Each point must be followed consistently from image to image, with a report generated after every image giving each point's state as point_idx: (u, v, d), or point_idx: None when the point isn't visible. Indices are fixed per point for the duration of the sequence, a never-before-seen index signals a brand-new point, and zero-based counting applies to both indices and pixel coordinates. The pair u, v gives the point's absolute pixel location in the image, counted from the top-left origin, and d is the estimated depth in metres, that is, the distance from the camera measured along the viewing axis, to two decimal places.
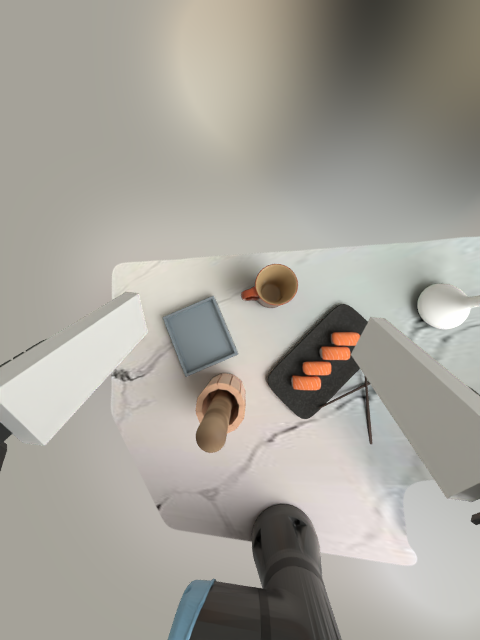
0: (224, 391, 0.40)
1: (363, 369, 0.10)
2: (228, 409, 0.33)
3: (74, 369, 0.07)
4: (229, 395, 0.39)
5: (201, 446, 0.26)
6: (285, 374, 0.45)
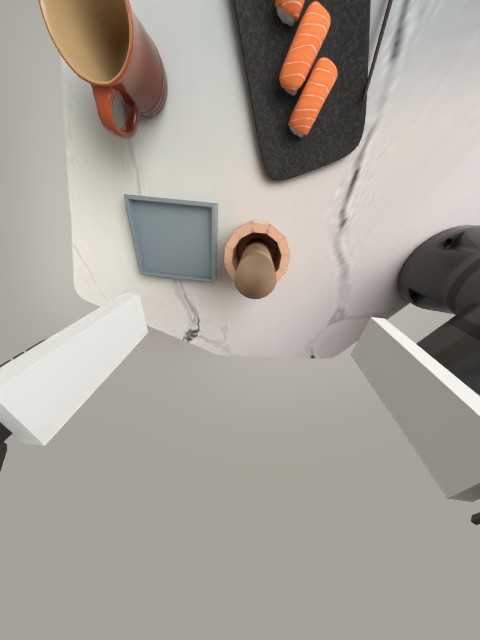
0: (246, 246, 0.30)
1: (363, 369, 0.10)
2: (256, 247, 0.24)
3: (74, 369, 0.07)
4: (252, 242, 0.29)
5: (259, 296, 0.20)
6: (280, 138, 0.27)
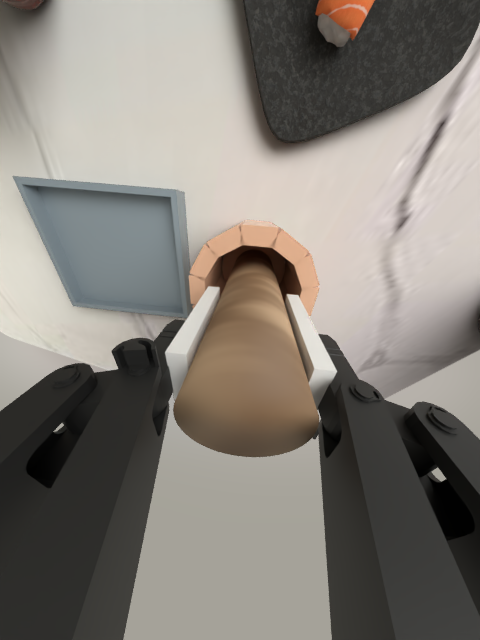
0: (234, 267, 0.17)
1: None
2: (250, 282, 0.10)
3: None
4: (244, 260, 0.16)
5: (260, 453, 0.07)
6: (296, 52, 0.13)
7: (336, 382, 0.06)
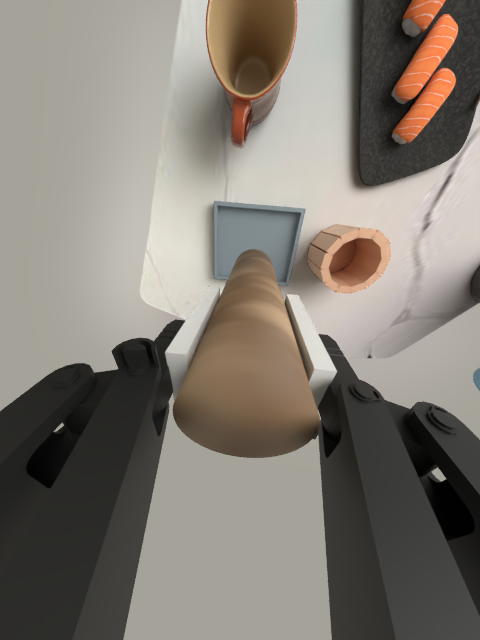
0: (234, 266, 0.17)
1: None
2: (250, 282, 0.10)
3: None
4: (244, 260, 0.15)
5: (260, 454, 0.06)
6: (379, 145, 0.27)
7: (336, 382, 0.06)
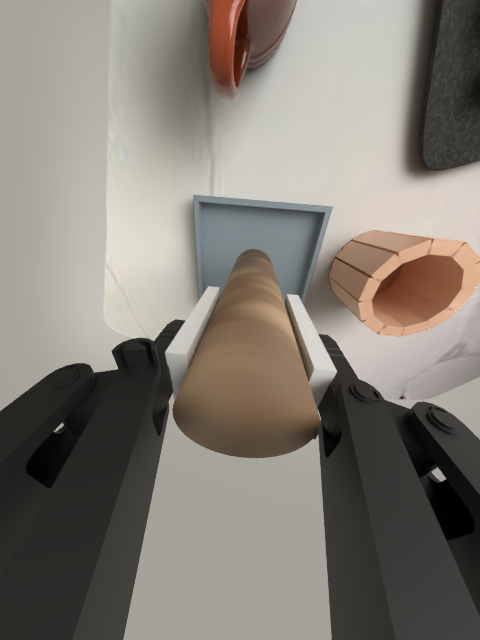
0: (234, 266, 0.17)
1: None
2: (250, 282, 0.10)
3: None
4: (244, 260, 0.15)
5: (260, 454, 0.06)
6: (458, 102, 0.17)
7: (336, 382, 0.06)
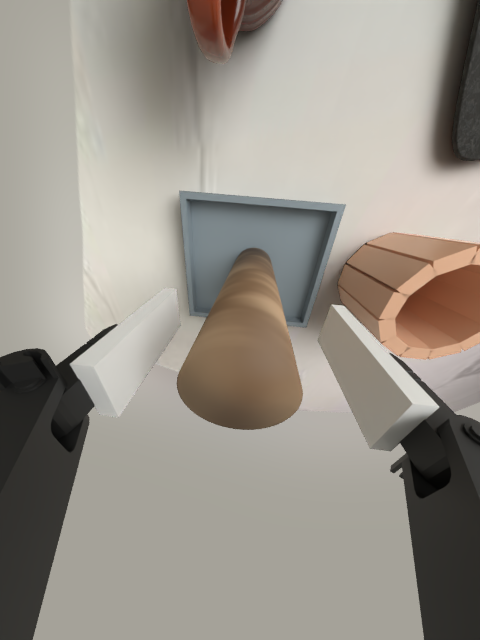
0: (234, 264, 0.17)
1: (325, 351, 0.11)
2: (247, 277, 0.11)
3: (137, 353, 0.08)
4: (244, 258, 0.16)
5: (253, 425, 0.07)
6: None
7: (431, 416, 0.05)
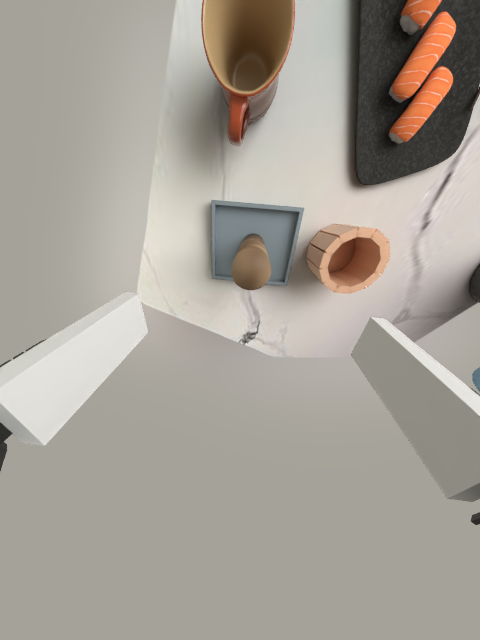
0: (242, 241, 0.31)
1: (363, 369, 0.10)
2: (252, 241, 0.25)
3: (74, 369, 0.07)
4: (248, 237, 0.30)
5: (255, 287, 0.21)
6: (376, 144, 0.27)
7: None
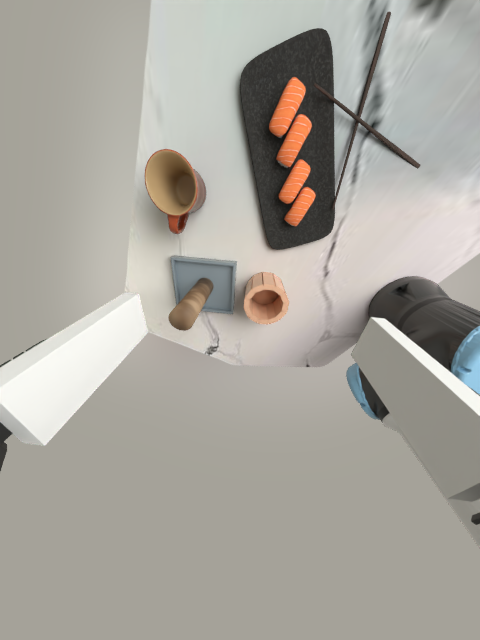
0: None
1: (363, 369, 0.10)
2: (190, 294, 0.37)
3: (74, 369, 0.07)
4: (195, 284, 0.42)
5: (185, 328, 0.33)
6: (279, 224, 0.39)
7: None
